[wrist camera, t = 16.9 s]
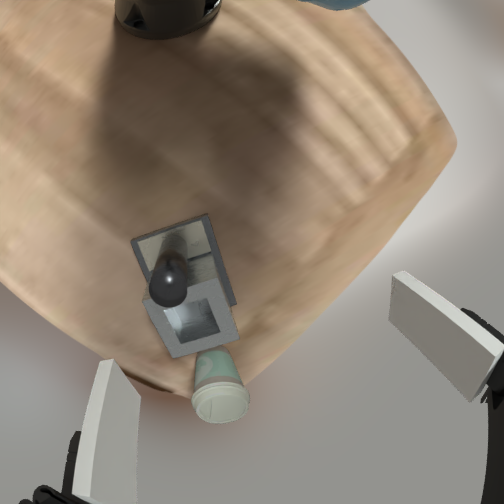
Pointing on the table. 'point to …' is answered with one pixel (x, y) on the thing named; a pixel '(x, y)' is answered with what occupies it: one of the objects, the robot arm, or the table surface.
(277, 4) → the table surface
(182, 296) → the black tapered cylinder
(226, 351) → the coffee cup
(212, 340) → the square frame housing
